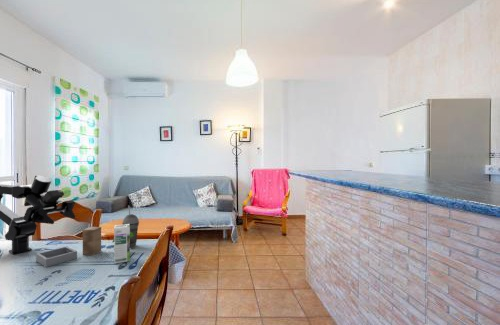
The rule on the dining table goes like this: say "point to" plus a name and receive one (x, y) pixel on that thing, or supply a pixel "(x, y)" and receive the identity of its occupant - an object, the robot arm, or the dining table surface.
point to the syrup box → (121, 243)
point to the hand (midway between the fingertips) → (64, 220)
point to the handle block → (91, 240)
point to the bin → (56, 256)
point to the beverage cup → (132, 227)
